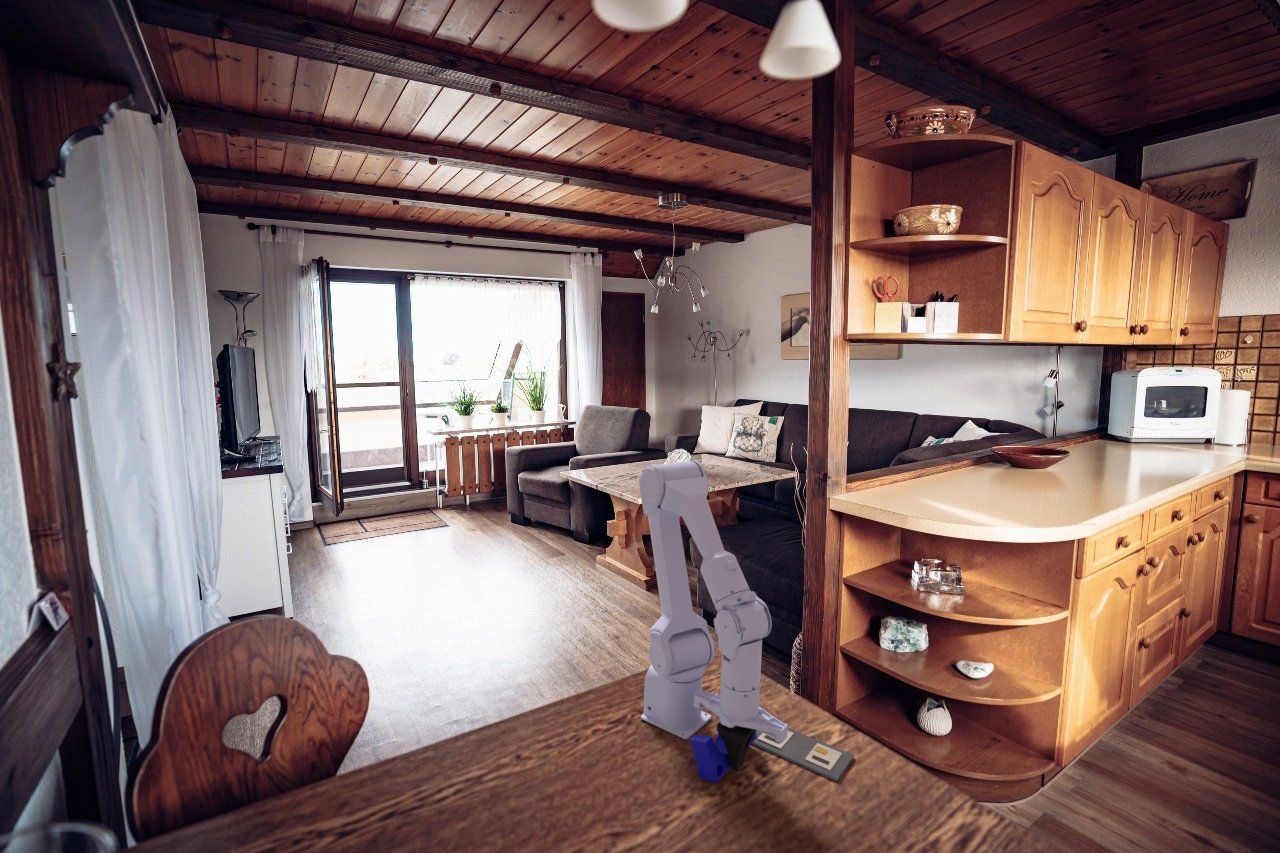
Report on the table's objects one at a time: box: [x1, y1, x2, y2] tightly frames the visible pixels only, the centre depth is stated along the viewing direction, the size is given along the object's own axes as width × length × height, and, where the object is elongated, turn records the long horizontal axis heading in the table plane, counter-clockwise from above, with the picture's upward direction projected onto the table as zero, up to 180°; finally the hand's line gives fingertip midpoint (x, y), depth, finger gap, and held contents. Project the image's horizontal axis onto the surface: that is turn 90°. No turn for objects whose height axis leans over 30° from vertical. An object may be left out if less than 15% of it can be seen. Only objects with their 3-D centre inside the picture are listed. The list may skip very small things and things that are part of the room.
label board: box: [751, 727, 855, 783], centre depth 100 cm, size 15×7×1 cm, turn 53°
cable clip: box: [689, 732, 757, 783], centre depth 97 cm, size 12×4×6 cm, turn 141°
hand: (736, 766), depth 95 cm, fingers closed
